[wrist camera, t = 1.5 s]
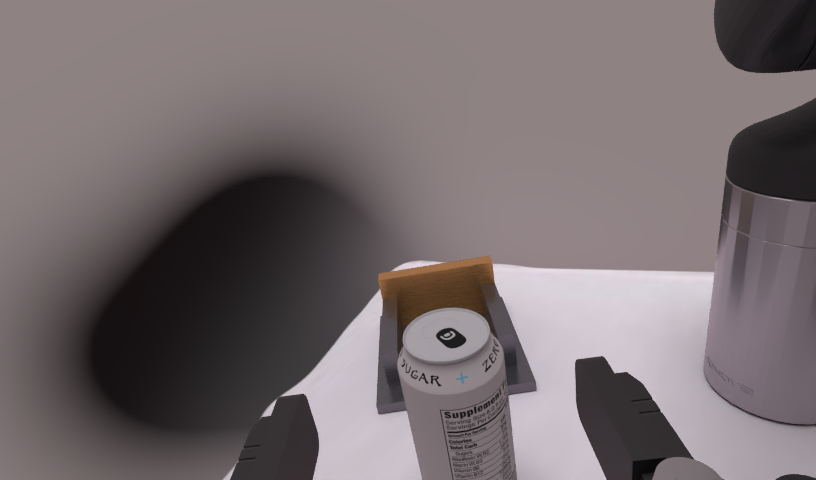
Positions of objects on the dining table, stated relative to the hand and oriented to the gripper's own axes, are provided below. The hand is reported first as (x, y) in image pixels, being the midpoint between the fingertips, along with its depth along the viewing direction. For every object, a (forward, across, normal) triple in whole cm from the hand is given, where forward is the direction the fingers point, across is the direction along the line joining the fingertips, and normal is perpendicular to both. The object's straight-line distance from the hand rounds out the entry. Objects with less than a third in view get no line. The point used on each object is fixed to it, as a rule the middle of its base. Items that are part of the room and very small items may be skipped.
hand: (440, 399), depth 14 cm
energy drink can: (+11, 0, +20) cm, 23 cm away
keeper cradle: (+28, 0, +20) cm, 35 cm away
